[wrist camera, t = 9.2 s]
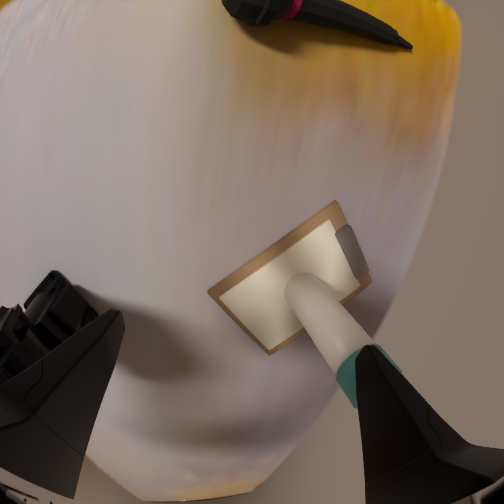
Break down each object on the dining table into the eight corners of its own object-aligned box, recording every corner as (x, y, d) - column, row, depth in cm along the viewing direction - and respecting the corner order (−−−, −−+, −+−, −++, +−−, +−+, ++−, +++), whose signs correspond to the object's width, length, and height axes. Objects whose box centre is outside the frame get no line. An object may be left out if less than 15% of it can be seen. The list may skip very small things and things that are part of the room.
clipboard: (268, 353, 29) (271, 360, 28) (207, 290, 24) (208, 297, 23) (370, 280, 29) (375, 285, 28) (334, 200, 24) (341, 203, 23)
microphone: (386, 38, 21) (211, -5, 14) (419, 18, 15) (230, -51, 9) (400, 75, 21) (216, 36, 15) (439, 58, 16) (240, -16, 10)
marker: (305, 309, 27) (374, 407, 16) (276, 299, 25) (341, 409, 14) (326, 279, 26) (410, 370, 15) (297, 266, 25) (382, 366, 13)
